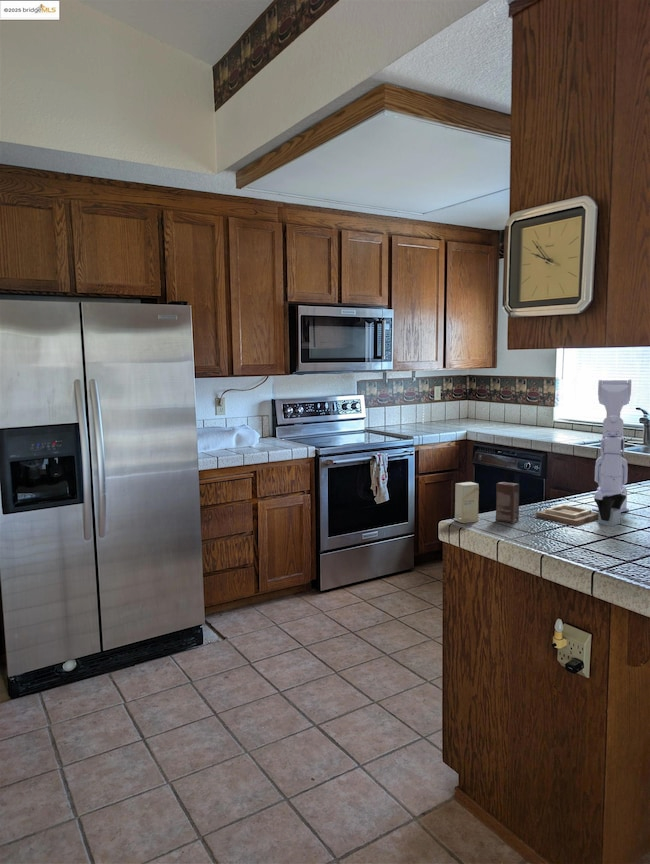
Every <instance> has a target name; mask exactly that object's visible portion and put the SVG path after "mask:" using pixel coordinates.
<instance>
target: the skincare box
mask: <svg viewBox="0 0 650 864" xmlns="http://www.w3.org/2000/svg"><path fill="white" fill-rule="evenodd" d="M454 489H455V492H454V493H455V494H454V499H455V500H454V501H455V502H454V520H455V519H457V520H455V521H456V522H458V523H460V524H465V523H475V522H479V494H480V491H479V490H480V486H479V483H477V482H472V481H465V482H458V483H457V482H456V483H455V487H454ZM459 518H461V519H459Z"/></svg>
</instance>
